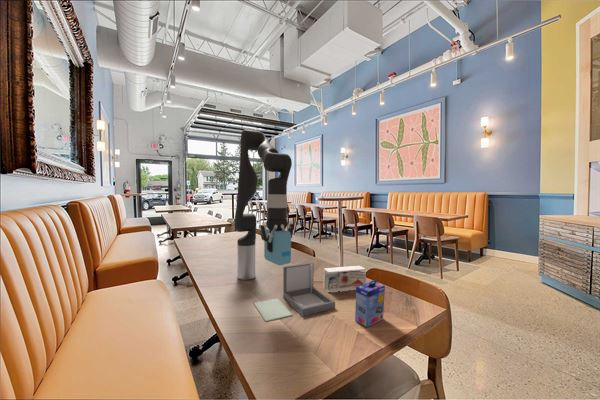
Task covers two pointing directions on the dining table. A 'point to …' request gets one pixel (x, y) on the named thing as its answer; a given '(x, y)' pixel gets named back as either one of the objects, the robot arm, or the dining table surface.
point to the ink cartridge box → (369, 303)
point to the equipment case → (304, 290)
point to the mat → (272, 309)
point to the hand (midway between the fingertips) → (276, 250)
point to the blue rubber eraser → (279, 248)
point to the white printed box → (343, 278)
